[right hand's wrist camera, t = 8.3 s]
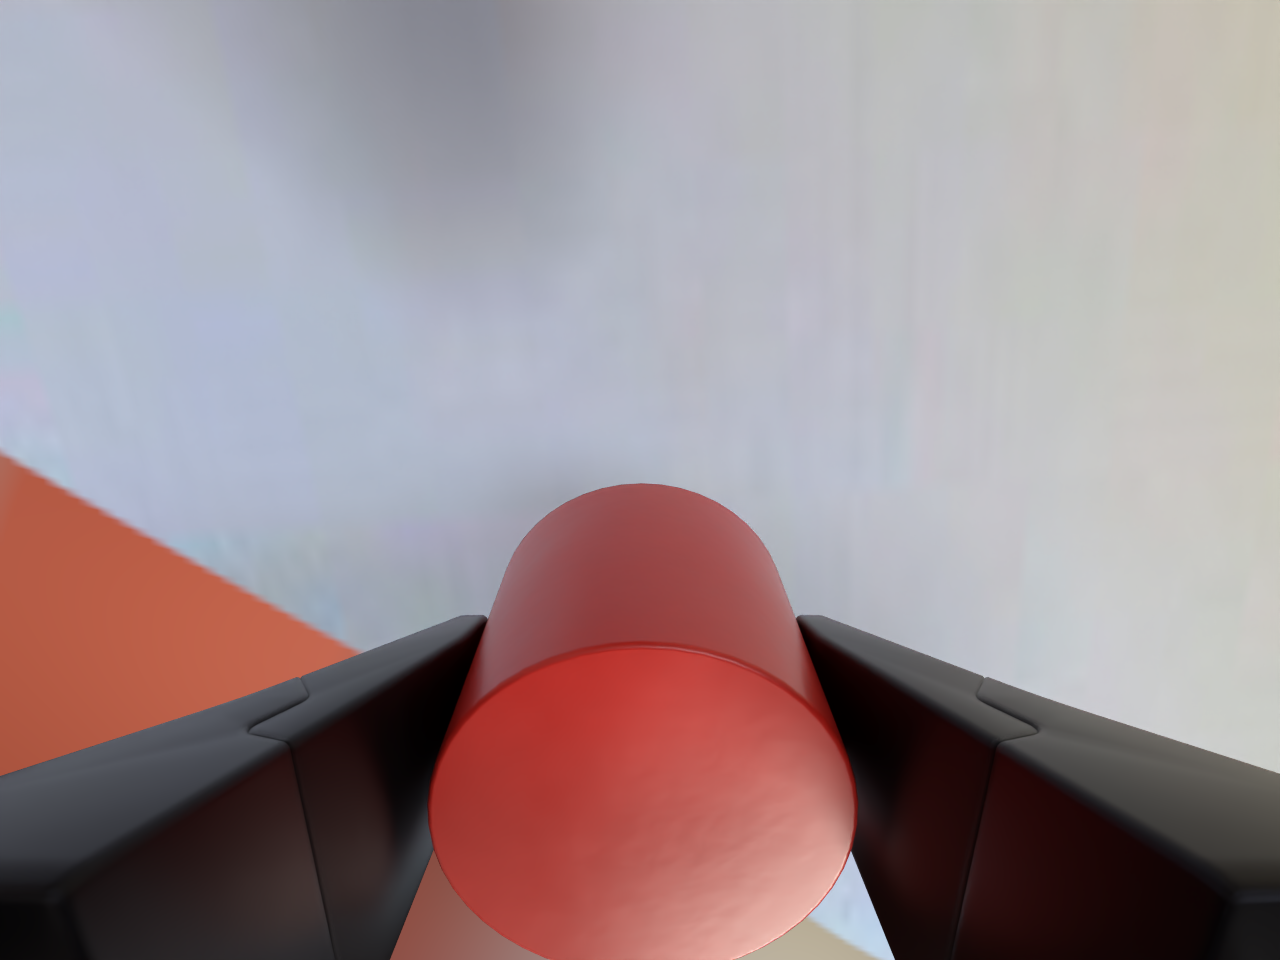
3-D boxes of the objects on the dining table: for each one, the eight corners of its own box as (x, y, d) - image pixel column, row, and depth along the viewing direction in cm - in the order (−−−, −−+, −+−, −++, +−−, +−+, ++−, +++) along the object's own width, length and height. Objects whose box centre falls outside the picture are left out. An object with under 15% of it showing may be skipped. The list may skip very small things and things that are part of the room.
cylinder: (754, 741, 13) (809, 995, 9) (492, 713, 13) (420, 960, 9) (809, 501, 12) (909, 670, 7) (509, 464, 11) (431, 618, 7)
